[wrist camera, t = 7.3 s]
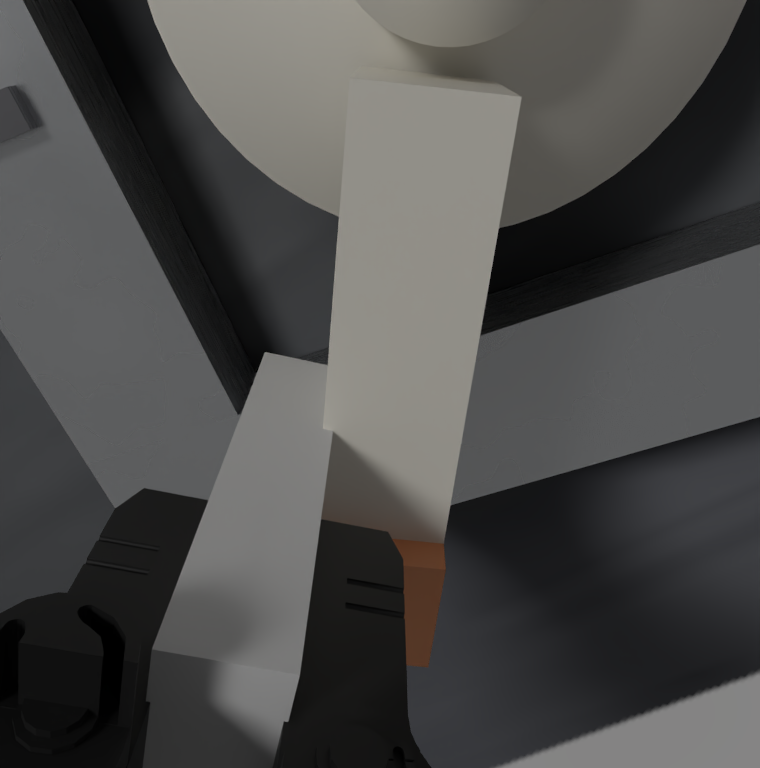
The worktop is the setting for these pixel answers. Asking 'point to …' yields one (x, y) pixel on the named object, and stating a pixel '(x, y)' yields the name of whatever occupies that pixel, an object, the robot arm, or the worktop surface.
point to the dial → (430, 192)
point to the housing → (236, 374)
